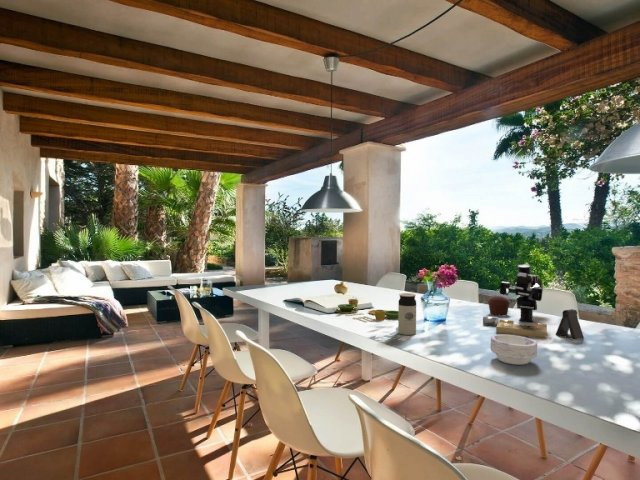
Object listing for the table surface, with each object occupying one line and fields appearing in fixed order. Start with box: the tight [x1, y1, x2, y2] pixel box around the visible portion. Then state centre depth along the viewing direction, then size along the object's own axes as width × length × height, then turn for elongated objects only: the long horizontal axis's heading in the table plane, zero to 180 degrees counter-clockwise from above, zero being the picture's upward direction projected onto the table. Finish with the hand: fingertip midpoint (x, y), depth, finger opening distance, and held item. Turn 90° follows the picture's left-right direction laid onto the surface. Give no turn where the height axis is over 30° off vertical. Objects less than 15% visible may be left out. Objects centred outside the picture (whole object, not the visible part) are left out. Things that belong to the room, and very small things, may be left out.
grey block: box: [482, 315, 500, 327], centre depth 207 cm, size 10×6×4 cm, turn 149°
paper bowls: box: [490, 334, 538, 366], centre depth 148 cm, size 15×15×8 cm
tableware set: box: [335, 298, 398, 323], centre depth 233 cm, size 41×28×6 cm
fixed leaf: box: [495, 319, 548, 339], centre depth 189 cm, size 14×20×4 cm
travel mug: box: [397, 292, 417, 336], centre depth 187 cm, size 8×8×18 cm
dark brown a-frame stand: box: [555, 308, 585, 341], centre depth 182 cm, size 9×6×12 cm, turn 26°
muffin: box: [487, 295, 511, 317], centre depth 232 cm, size 12×11×10 cm
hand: (517, 296), depth 194 cm, fingers open, 9 cm apart
